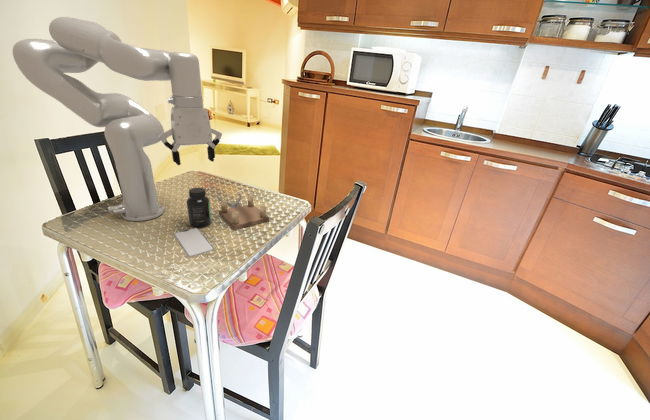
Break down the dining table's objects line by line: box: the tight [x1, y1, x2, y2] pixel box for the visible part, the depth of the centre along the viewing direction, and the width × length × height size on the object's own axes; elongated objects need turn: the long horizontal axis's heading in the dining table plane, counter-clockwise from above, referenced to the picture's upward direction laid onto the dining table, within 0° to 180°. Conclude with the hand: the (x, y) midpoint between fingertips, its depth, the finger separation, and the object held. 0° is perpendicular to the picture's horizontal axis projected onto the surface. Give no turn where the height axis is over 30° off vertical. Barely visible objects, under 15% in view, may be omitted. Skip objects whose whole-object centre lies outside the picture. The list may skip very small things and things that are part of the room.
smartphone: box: [173, 227, 215, 258], centre depth 88 cm, size 7×1×15 cm
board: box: [218, 194, 270, 231], centre depth 103 cm, size 13×13×6 cm
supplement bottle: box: [186, 187, 212, 229], centre depth 95 cm, size 7×7×12 cm
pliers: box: [216, 192, 242, 208], centre depth 115 cm, size 10×1×20 cm
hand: (195, 162), depth 89 cm, fingers open, 9 cm apart
